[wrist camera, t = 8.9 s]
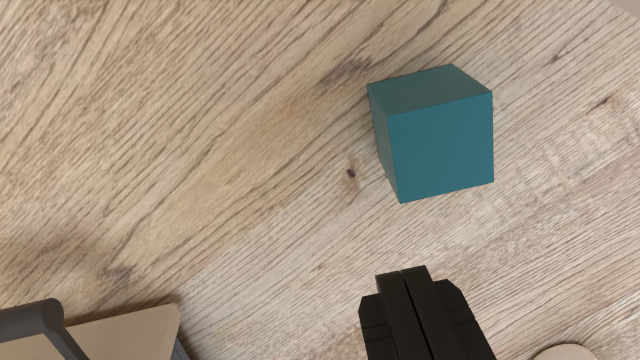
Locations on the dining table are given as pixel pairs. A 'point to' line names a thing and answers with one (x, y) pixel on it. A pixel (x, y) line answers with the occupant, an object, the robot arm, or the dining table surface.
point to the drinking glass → (566, 353)
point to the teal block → (433, 132)
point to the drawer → (89, 334)
